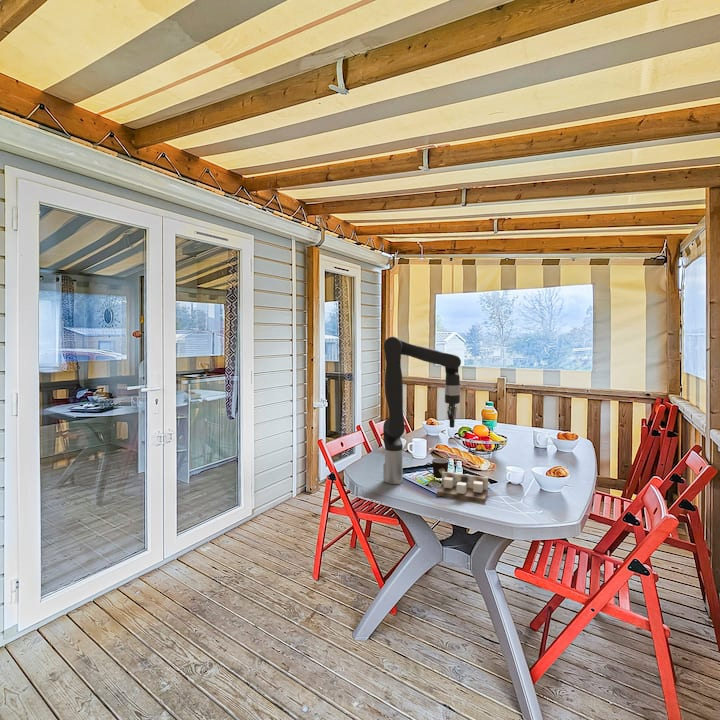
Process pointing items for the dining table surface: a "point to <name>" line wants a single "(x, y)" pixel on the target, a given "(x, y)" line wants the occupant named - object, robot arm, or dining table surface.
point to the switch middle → (461, 487)
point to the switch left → (448, 482)
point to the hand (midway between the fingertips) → (451, 427)
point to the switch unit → (469, 492)
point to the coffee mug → (438, 466)
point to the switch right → (478, 486)
